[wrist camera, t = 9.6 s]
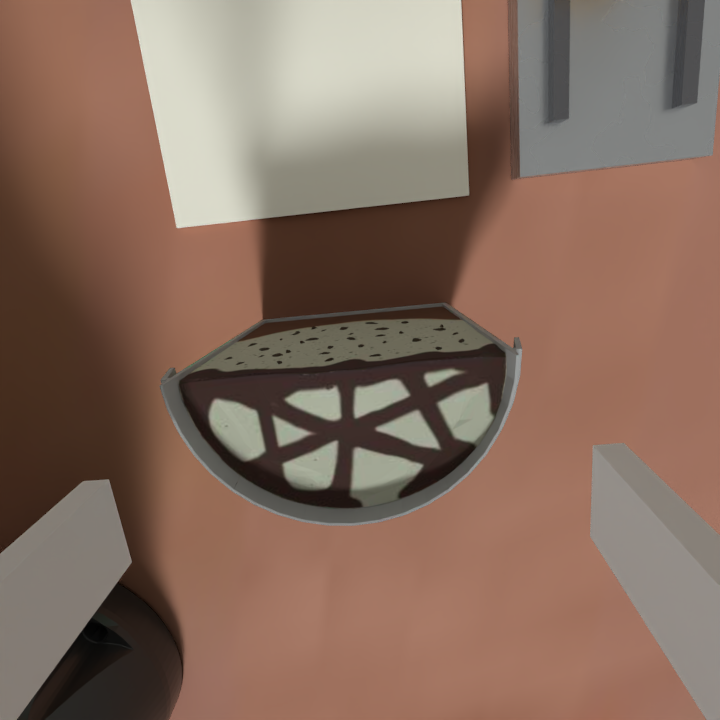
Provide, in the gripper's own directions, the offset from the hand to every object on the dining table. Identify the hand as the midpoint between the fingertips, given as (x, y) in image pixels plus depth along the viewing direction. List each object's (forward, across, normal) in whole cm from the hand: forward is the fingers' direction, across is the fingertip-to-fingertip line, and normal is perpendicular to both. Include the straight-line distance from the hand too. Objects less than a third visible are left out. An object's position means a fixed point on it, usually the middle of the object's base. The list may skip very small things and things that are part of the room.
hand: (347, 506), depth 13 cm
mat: (+13, -1, +17) cm, 21 cm away
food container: (+13, 0, 0) cm, 13 cm away
